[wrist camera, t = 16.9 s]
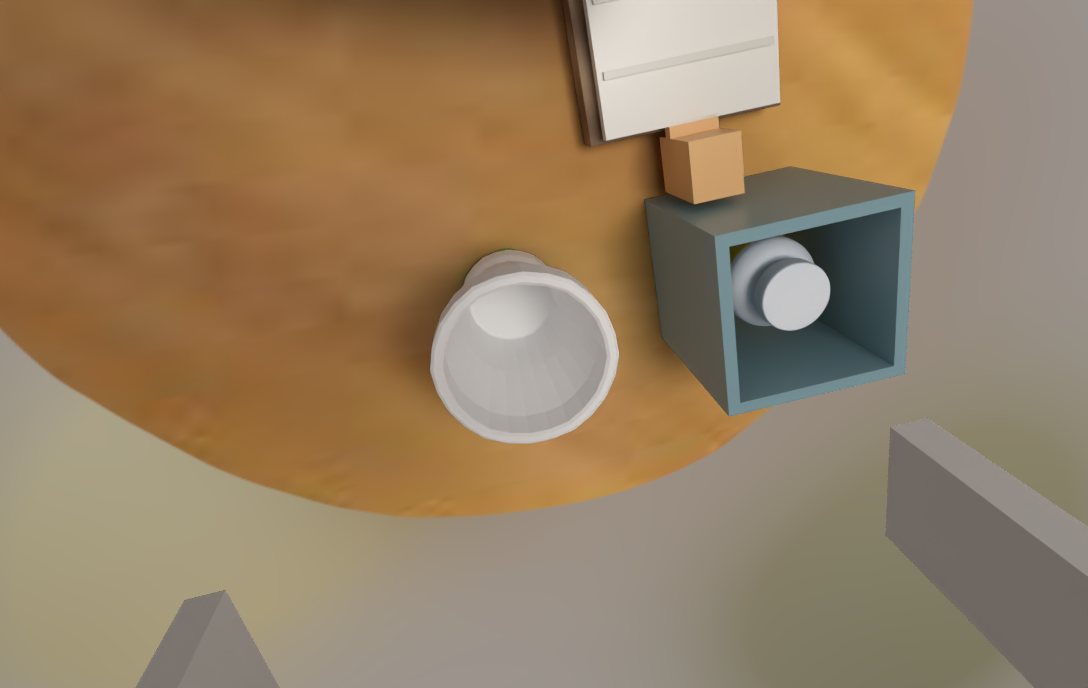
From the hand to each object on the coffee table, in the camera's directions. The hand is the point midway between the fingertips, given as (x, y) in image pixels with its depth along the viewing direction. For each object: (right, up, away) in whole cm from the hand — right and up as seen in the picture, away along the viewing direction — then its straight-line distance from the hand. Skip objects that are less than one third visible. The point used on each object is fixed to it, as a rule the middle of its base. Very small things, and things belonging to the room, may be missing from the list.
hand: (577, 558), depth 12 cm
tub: (+14, +12, +37) cm, 41 cm away
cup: (-3, +8, +36) cm, 37 cm away
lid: (+9, +24, +30) cm, 39 cm away
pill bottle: (+14, +12, +37) cm, 42 cm away
